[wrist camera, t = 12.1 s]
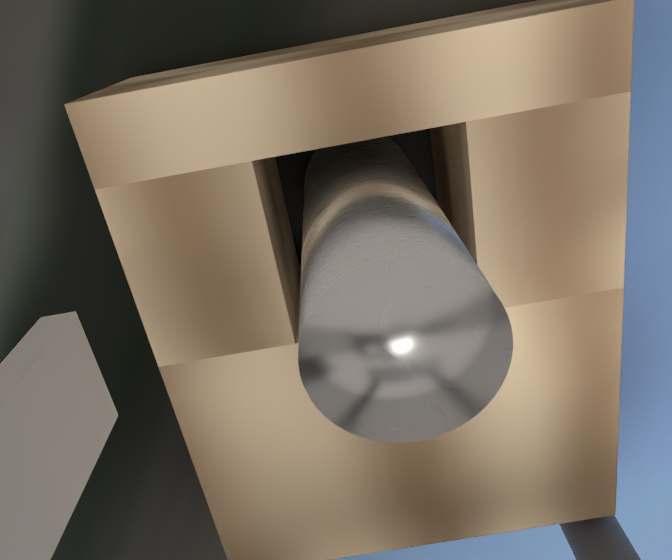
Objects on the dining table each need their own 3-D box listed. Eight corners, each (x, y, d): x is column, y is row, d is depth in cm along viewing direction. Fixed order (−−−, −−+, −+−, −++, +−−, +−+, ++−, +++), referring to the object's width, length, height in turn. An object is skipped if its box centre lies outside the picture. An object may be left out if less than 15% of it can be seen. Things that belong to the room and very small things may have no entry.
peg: (294, 139, 21) (276, 279, 10) (405, 119, 21) (506, 238, 10) (315, 242, 23) (320, 457, 12) (418, 224, 23) (517, 424, 12)
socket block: (248, 460, 27) (233, 574, 22) (131, 77, 20) (64, 104, 15) (553, 411, 27) (615, 515, 21) (544, -1, 19) (634, -4, 14)
